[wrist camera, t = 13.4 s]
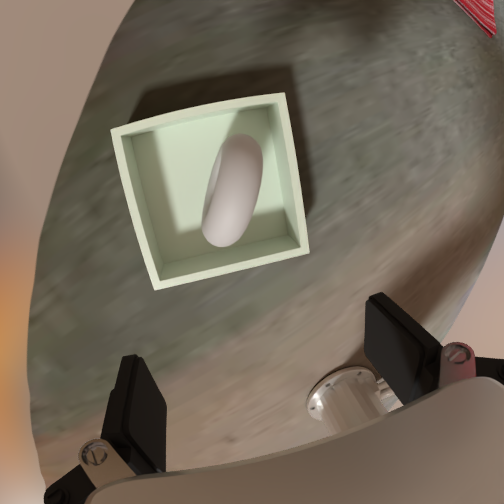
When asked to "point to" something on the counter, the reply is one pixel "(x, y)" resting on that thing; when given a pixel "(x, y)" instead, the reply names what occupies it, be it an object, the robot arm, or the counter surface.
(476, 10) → the dish towel
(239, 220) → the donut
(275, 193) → the bin
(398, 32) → the counter surface
